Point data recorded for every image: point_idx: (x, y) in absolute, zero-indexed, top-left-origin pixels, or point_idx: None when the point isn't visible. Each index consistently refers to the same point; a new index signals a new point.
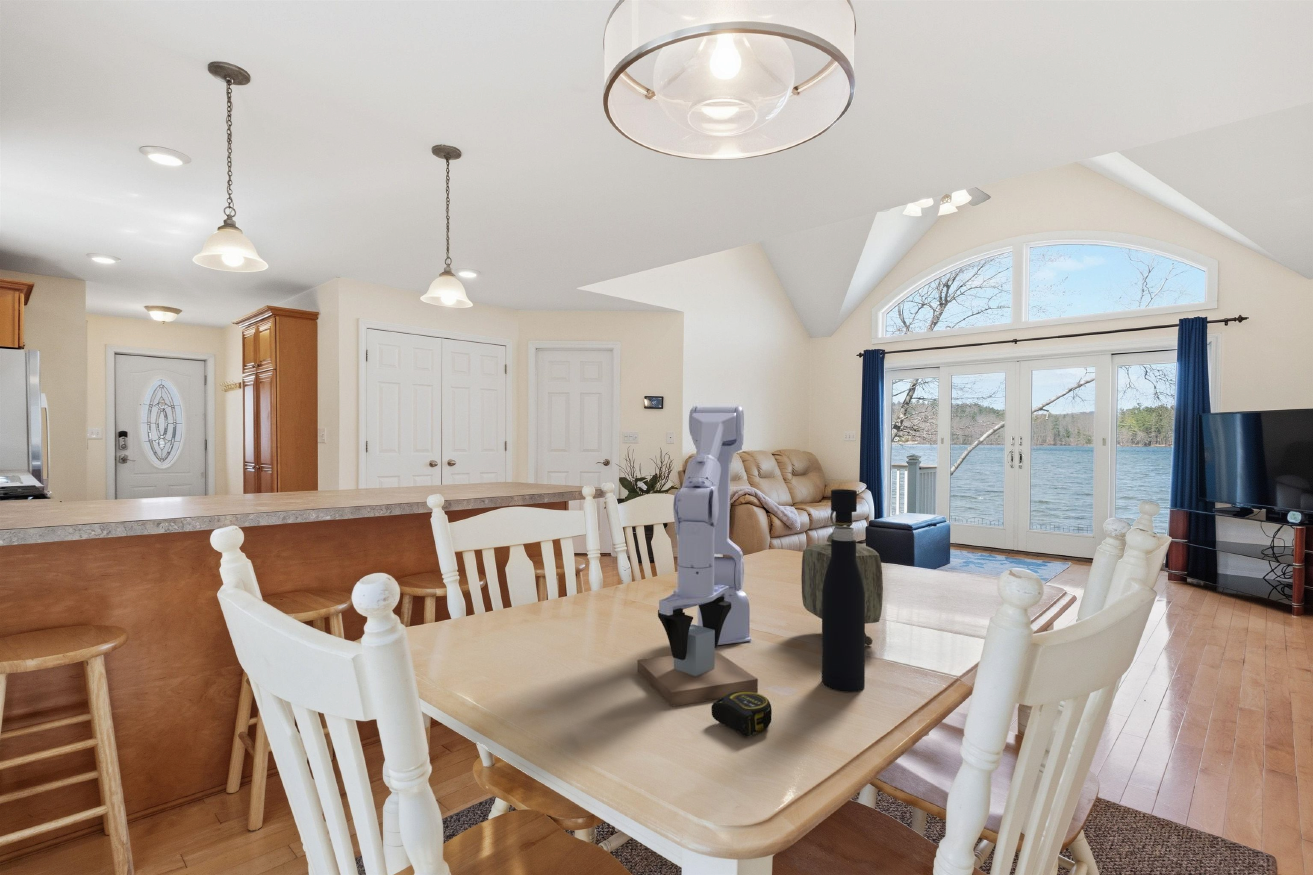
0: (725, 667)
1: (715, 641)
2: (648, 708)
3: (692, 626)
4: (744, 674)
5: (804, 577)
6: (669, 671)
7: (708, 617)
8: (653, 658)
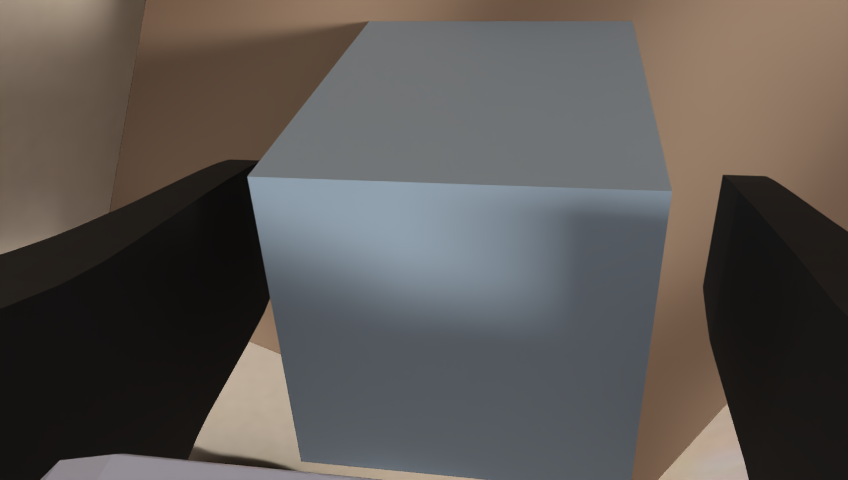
0: (689, 290)
1: (714, 339)
2: (19, 164)
3: (570, 248)
4: (652, 427)
5: None
6: (301, 37)
7: (808, 440)
8: None
